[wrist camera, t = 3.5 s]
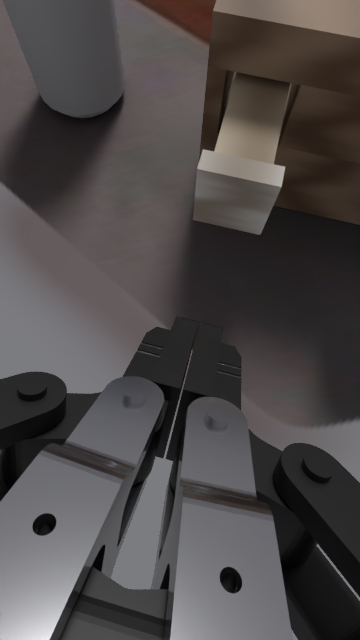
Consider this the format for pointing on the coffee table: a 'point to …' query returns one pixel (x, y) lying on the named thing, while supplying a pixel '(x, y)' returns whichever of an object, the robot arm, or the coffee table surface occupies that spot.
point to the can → (71, 52)
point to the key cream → (243, 158)
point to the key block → (297, 93)
